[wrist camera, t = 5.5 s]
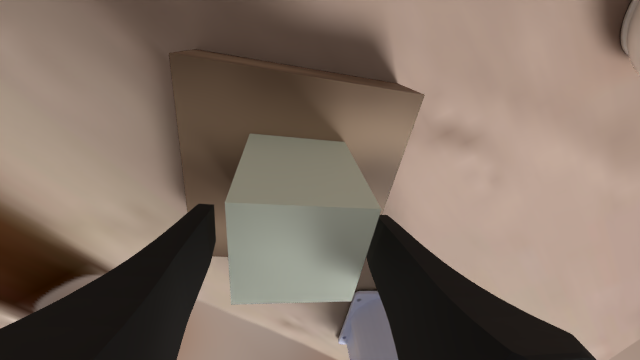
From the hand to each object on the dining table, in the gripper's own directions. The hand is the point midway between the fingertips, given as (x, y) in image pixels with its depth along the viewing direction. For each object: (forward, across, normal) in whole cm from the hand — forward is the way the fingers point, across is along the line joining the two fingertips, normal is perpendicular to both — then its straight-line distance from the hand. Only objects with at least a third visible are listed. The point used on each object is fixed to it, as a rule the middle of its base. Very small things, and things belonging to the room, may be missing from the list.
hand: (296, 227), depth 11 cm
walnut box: (+8, 0, 0) cm, 8 cm away
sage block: (+4, 0, 0) cm, 4 cm away
